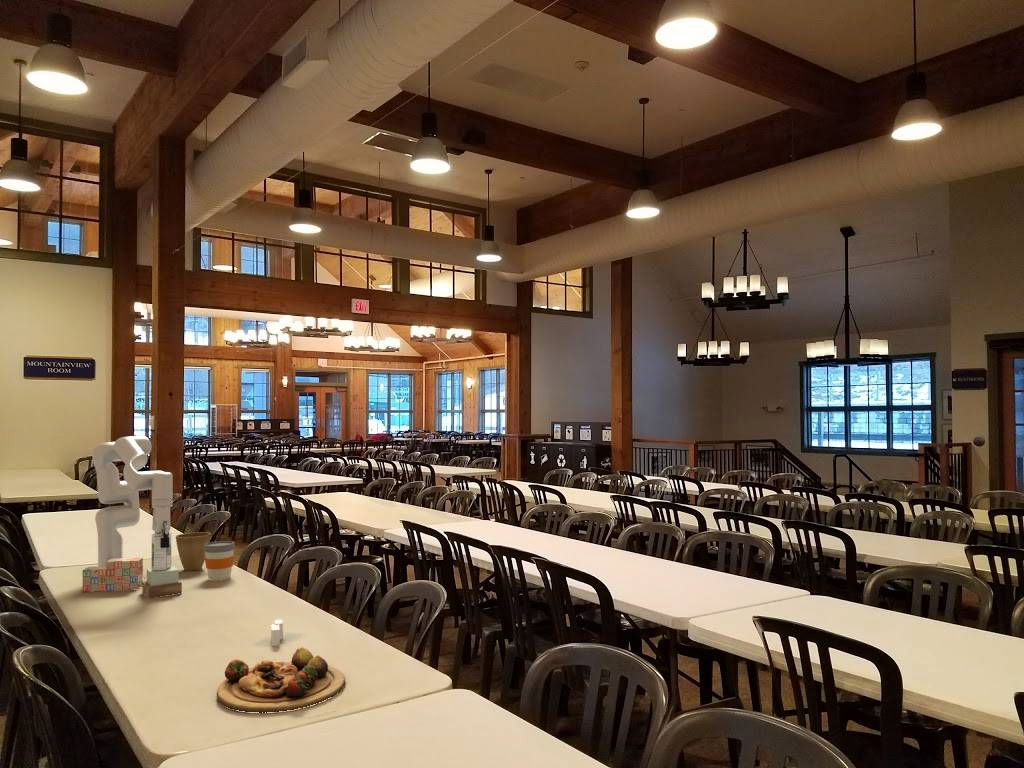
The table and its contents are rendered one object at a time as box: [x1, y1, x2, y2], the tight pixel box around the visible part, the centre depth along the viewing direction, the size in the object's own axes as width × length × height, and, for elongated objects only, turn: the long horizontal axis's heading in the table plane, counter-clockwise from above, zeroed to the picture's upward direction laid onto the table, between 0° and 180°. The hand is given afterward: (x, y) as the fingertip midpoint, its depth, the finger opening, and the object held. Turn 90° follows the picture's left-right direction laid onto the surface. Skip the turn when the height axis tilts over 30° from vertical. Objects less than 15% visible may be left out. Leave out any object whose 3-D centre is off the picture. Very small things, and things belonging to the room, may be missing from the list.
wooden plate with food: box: [216, 646, 346, 713], centre depth 194 cm, size 32×32×8 cm
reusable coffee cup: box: [204, 540, 236, 581], centre depth 324 cm, size 13×13×15 cm
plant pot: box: [175, 531, 211, 572], centre depth 343 cm, size 15×15×16 cm
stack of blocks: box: [81, 557, 144, 593], centre depth 306 cm, size 21×6×12 cm, turn 98°
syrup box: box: [151, 531, 172, 571], centre depth 299 cm, size 6×6×14 cm
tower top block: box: [146, 565, 180, 586], centre depth 298 cm, size 10×10×5 cm
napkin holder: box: [270, 618, 284, 647], centre depth 236 cm, size 15×11×6 cm
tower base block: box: [141, 580, 183, 599], centre depth 298 cm, size 12×12×5 cm
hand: (162, 545), depth 298 cm, fingers open, 9 cm apart
